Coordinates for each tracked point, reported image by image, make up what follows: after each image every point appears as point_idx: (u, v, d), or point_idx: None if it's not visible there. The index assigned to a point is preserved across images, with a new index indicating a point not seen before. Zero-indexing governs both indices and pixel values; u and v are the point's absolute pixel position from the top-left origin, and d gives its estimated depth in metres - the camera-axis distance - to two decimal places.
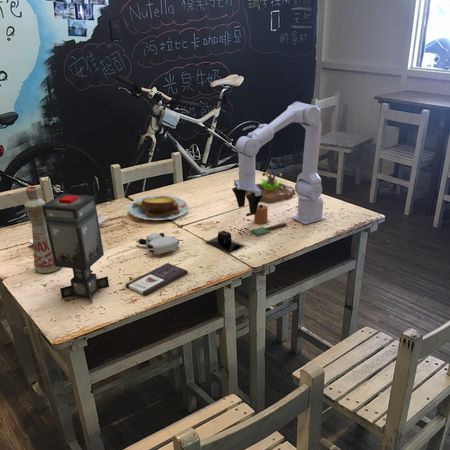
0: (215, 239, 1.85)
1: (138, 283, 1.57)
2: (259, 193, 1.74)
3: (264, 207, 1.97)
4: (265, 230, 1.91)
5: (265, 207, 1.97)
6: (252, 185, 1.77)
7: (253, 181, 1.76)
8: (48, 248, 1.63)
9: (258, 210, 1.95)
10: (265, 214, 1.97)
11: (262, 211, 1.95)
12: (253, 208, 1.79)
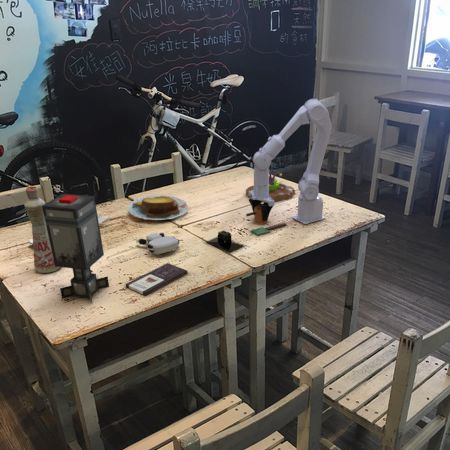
0: (215, 239, 1.85)
1: (138, 283, 1.57)
2: (272, 203, 1.90)
3: None
4: (265, 230, 1.91)
5: None
6: (266, 196, 1.93)
7: (267, 192, 1.92)
8: (48, 248, 1.63)
9: (258, 210, 1.95)
10: None
11: None
12: (265, 216, 1.96)
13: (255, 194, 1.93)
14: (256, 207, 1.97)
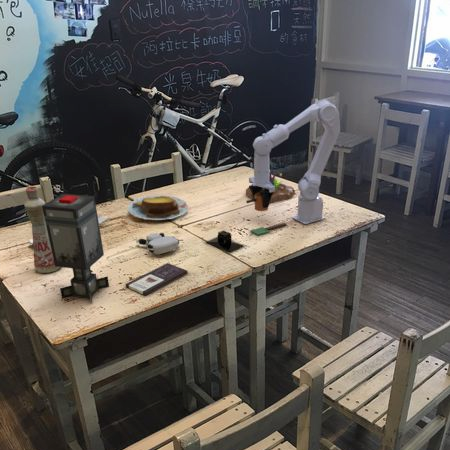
0: (215, 239, 1.85)
1: (138, 283, 1.57)
2: (273, 189, 1.87)
3: None
4: (265, 230, 1.91)
5: None
6: (266, 182, 1.90)
7: (267, 178, 1.89)
8: (48, 248, 1.63)
9: (259, 197, 1.92)
10: None
11: None
12: (266, 203, 1.93)
13: (255, 180, 1.90)
14: (256, 194, 1.94)
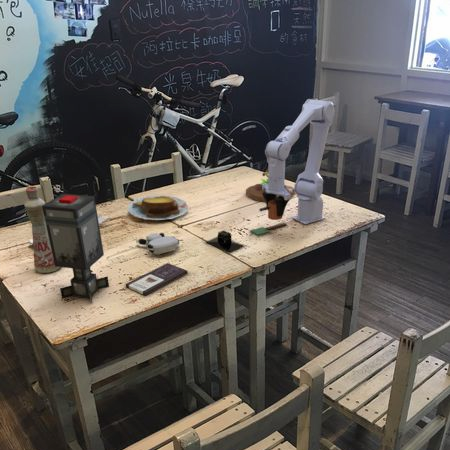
0: (215, 239, 1.85)
1: (138, 283, 1.57)
2: (289, 197, 1.75)
3: None
4: (265, 230, 1.91)
5: None
6: (281, 189, 1.77)
7: (282, 185, 1.77)
8: (48, 248, 1.63)
9: (273, 205, 1.80)
10: None
11: None
12: (280, 211, 1.81)
13: (270, 187, 1.77)
14: (270, 201, 1.82)
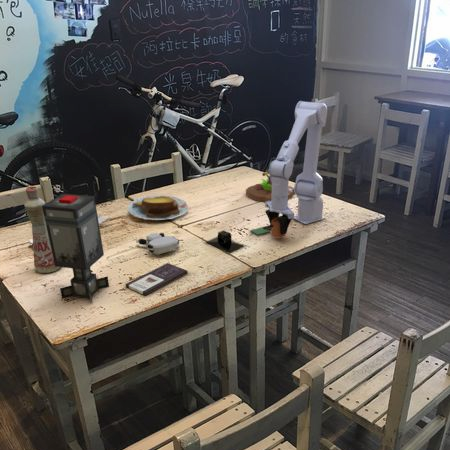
0: (215, 239, 1.85)
1: (138, 283, 1.57)
2: (292, 216, 1.75)
3: None
4: (265, 230, 1.91)
5: None
6: (285, 207, 1.77)
7: (286, 203, 1.77)
8: (48, 248, 1.63)
9: (276, 223, 1.80)
10: None
11: None
12: (284, 229, 1.81)
13: (273, 206, 1.78)
14: (274, 219, 1.82)
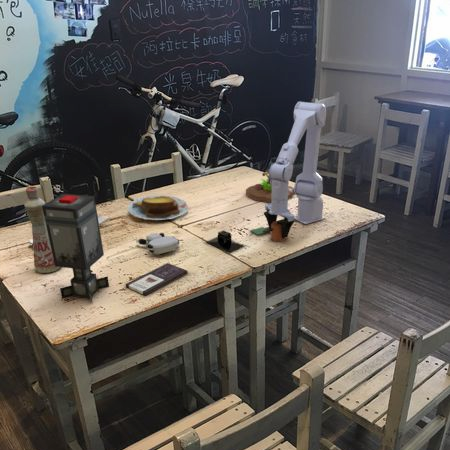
0: (215, 239, 1.85)
1: (138, 283, 1.57)
2: (292, 218, 1.75)
3: None
4: None
5: None
6: (285, 210, 1.78)
7: (286, 206, 1.78)
8: (48, 248, 1.63)
9: (276, 227, 1.81)
10: None
11: (280, 228, 1.81)
12: (285, 233, 1.81)
13: (273, 208, 1.78)
14: (273, 223, 1.83)
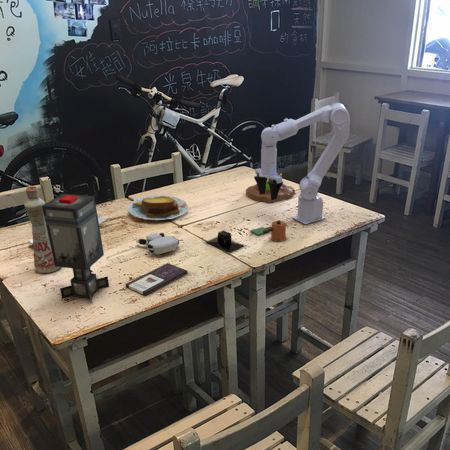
0: (215, 239, 1.85)
1: (138, 283, 1.57)
2: (280, 180, 1.88)
3: (282, 223, 1.82)
4: None
5: (283, 223, 1.82)
6: (273, 173, 1.90)
7: (274, 169, 1.90)
8: (48, 248, 1.63)
9: (276, 227, 1.81)
10: (283, 231, 1.82)
11: (280, 228, 1.81)
12: (274, 195, 1.93)
13: (262, 171, 1.90)
14: (273, 223, 1.83)
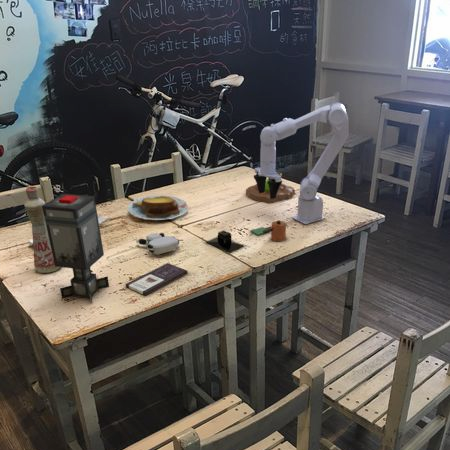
0: (215, 239, 1.85)
1: (138, 283, 1.57)
2: (279, 179, 1.89)
3: (282, 223, 1.82)
4: None
5: (283, 223, 1.82)
6: (272, 172, 1.91)
7: (273, 168, 1.91)
8: (48, 248, 1.63)
9: (276, 227, 1.81)
10: (283, 231, 1.82)
11: (280, 228, 1.81)
12: (273, 193, 1.94)
13: (262, 170, 1.91)
14: (273, 223, 1.83)
